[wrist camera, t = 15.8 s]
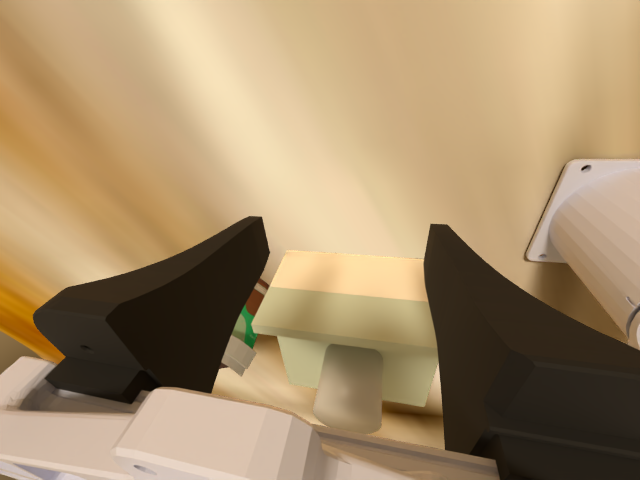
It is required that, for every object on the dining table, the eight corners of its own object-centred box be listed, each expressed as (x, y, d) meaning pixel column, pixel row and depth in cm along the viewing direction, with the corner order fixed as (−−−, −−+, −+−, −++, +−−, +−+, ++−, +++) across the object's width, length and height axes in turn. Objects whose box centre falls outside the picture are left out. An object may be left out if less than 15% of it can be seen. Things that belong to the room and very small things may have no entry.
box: (440, 260, 24) (451, 304, 20) (419, 354, 32) (423, 398, 28) (287, 250, 27) (269, 286, 23) (302, 338, 35) (291, 376, 31)
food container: (251, 244, 27) (195, 327, 19) (284, 287, 30) (246, 376, 22) (172, 273, 33) (103, 348, 25) (206, 308, 35) (153, 385, 27)
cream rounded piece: (395, 364, 24) (396, 428, 20) (354, 379, 27) (347, 438, 23) (352, 332, 23) (344, 394, 19) (313, 352, 26) (299, 409, 22)
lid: (451, 304, 20) (462, 351, 17) (423, 398, 28) (427, 442, 25) (269, 286, 23) (250, 324, 20) (291, 377, 31) (280, 413, 28)
